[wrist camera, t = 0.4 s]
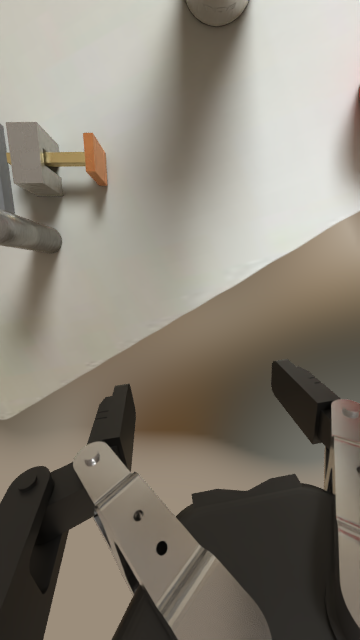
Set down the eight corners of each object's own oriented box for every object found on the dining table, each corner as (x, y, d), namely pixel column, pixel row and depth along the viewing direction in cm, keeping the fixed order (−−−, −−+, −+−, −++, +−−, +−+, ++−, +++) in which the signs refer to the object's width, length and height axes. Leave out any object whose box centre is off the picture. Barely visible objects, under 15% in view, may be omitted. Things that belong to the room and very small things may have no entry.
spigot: (31, 223, 36) (-83, 185, 21) (63, 223, 36) (-28, 185, 21) (35, 256, 37) (-71, 243, 22) (66, 256, 37) (-18, 243, 22)
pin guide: (32, 145, 34) (5, 122, 29) (58, 144, 34) (36, 122, 29) (38, 196, 36) (13, 183, 30) (63, 196, 35) (43, 182, 30)
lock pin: (105, 153, 34) (92, 132, 29) (107, 185, 35) (95, 171, 30) (23, 153, 34) (-3, 133, 29) (27, 186, 35) (2, 172, 30)
